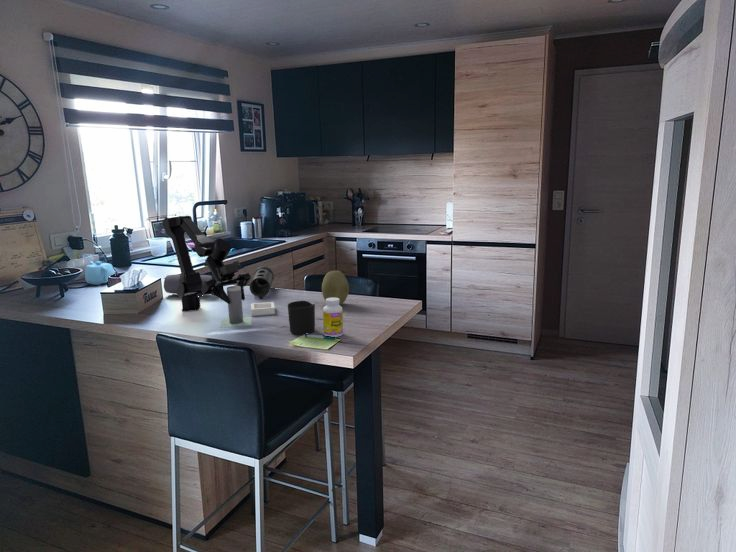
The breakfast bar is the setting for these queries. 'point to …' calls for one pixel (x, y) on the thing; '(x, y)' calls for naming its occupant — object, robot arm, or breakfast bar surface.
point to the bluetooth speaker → (173, 283)
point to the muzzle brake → (262, 281)
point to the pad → (245, 322)
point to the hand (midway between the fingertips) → (237, 301)
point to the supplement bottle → (333, 318)
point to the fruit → (335, 286)
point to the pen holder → (301, 317)
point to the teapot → (98, 272)
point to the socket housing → (262, 308)
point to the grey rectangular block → (235, 304)
